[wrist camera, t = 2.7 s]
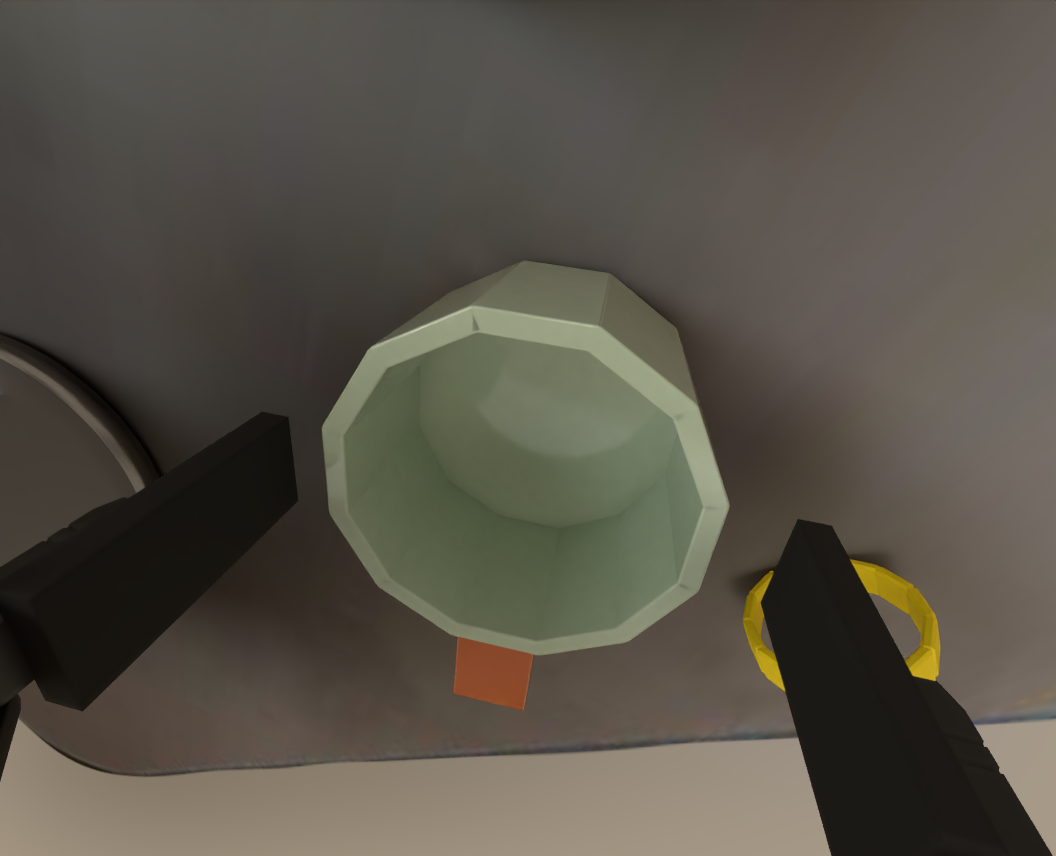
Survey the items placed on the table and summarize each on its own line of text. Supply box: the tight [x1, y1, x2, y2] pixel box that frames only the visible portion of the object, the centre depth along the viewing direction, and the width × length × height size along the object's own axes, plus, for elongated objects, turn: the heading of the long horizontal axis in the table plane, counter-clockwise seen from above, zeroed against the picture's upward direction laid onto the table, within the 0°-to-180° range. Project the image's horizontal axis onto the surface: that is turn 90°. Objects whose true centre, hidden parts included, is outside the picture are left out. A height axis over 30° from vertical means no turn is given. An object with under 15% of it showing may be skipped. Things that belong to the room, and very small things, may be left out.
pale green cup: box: [322, 261, 730, 710], centre depth 16 cm, size 13×10×6 cm
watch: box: [743, 559, 940, 691], centre depth 19 cm, size 6×3×6 cm, turn 112°
